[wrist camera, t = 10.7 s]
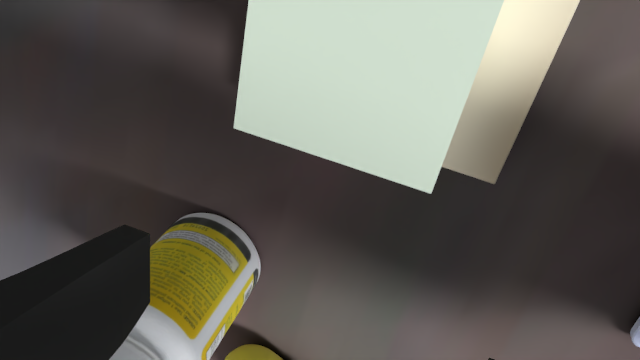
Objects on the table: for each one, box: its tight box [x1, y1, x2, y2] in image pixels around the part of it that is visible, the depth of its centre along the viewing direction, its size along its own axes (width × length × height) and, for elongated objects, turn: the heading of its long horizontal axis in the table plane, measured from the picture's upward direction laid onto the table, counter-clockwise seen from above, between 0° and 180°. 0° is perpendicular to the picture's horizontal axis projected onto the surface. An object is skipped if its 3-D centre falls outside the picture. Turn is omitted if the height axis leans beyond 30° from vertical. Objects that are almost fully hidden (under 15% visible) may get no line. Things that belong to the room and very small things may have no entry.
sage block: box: [234, 0, 504, 194], centre depth 13 cm, size 5×5×6 cm
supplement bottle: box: [109, 213, 261, 360], centre depth 21 cm, size 5×5×8 cm
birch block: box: [442, 0, 580, 184], centre depth 16 cm, size 9×9×2 cm
